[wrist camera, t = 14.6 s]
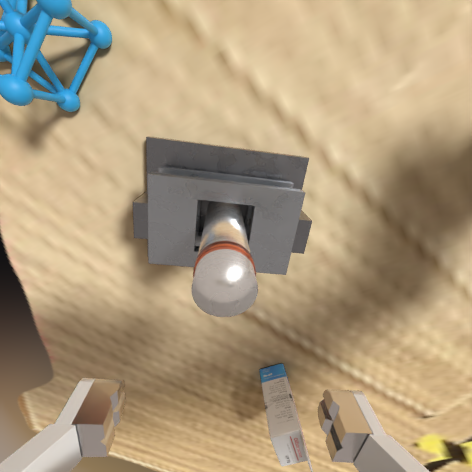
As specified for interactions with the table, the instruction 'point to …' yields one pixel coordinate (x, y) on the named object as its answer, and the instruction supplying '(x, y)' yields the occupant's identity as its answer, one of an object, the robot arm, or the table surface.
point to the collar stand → (221, 190)
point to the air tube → (224, 263)
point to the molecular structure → (27, 32)
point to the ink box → (283, 417)
